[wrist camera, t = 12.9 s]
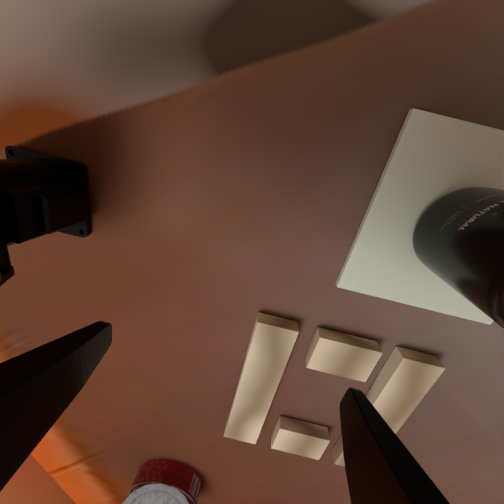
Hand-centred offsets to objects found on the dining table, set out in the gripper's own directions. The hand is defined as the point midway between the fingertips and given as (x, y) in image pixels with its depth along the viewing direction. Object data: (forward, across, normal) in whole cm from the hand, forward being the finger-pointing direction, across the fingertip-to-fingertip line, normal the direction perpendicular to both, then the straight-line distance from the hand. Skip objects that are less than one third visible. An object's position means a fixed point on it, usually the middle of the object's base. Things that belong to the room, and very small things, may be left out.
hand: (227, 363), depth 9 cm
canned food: (+13, +4, +41) cm, 43 cm away
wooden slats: (+13, -11, +16) cm, 23 cm away
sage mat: (+13, -15, -5) cm, 20 cm away
